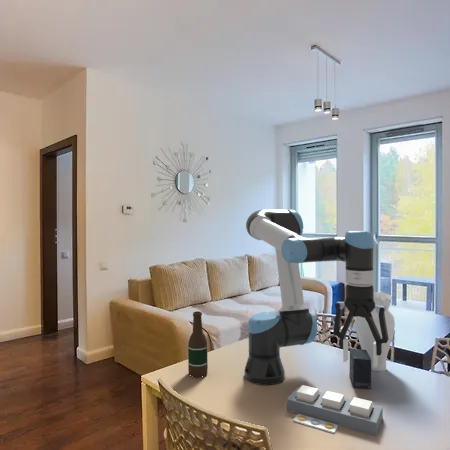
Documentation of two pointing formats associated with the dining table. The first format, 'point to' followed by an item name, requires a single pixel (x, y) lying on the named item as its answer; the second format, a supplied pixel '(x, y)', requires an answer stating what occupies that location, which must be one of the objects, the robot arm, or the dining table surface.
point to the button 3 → (361, 407)
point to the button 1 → (307, 393)
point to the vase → (366, 334)
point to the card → (316, 423)
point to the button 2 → (333, 400)
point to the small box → (360, 368)
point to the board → (337, 413)
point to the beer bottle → (197, 348)
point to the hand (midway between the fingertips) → (360, 362)
